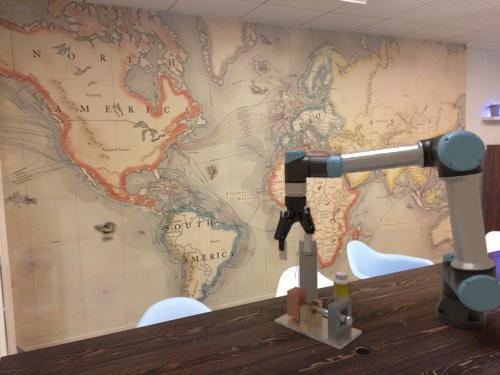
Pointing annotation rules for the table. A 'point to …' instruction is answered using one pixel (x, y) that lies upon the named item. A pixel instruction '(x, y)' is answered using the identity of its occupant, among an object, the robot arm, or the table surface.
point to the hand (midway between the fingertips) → (295, 255)
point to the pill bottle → (341, 285)
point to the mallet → (299, 298)
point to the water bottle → (308, 270)
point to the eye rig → (324, 323)
